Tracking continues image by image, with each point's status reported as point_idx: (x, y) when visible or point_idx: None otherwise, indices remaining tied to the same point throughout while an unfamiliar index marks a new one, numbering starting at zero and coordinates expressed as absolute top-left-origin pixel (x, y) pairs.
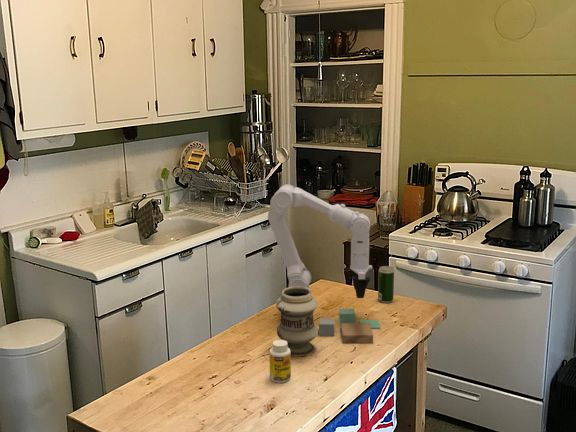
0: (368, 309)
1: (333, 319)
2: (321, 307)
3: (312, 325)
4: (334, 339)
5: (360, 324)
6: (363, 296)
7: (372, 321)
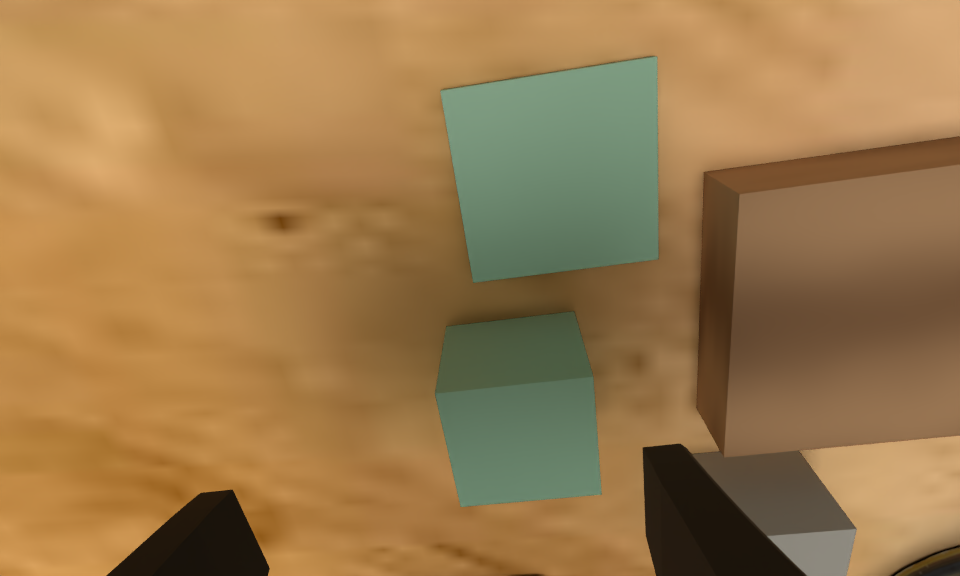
0: (144, 200)
1: None
2: None
3: None
4: None
5: (768, 291)
6: (701, 468)
7: (491, 151)
